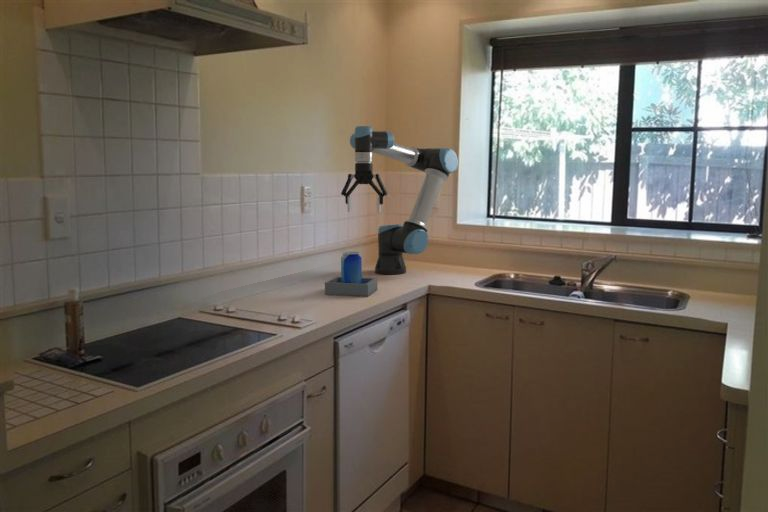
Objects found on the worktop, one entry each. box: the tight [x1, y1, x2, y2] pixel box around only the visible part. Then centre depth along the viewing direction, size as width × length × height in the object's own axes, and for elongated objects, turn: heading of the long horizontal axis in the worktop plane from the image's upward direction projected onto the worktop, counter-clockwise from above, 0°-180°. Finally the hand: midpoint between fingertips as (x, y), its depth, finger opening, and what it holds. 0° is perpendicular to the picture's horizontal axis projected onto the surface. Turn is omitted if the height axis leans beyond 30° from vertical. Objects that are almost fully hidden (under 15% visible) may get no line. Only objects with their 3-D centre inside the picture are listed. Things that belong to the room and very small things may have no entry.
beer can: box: [340, 250, 363, 284], centre depth 271 cm, size 8×8×16 cm
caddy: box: [324, 276, 378, 298], centre depth 272 cm, size 14×18×5 cm
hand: (364, 211), depth 287 cm, fingers open, 13 cm apart
